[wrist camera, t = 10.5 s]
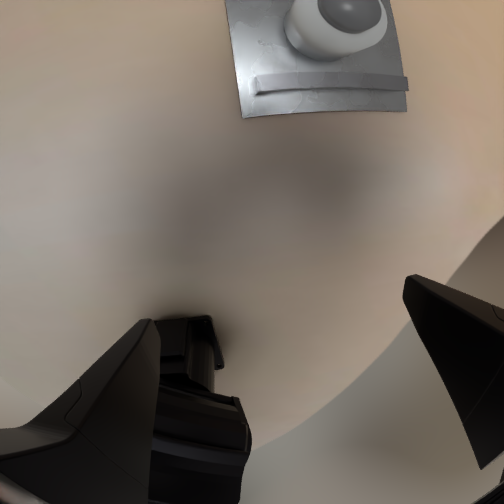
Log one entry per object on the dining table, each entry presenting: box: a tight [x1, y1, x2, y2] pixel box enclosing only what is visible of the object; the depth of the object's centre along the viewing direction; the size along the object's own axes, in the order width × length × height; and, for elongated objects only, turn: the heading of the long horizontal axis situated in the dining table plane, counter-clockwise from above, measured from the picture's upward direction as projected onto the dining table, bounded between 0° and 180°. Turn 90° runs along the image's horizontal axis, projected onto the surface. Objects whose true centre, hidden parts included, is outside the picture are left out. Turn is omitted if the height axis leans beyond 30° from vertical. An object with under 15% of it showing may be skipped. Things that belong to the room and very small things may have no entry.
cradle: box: [225, 0, 409, 118], centre depth 14 cm, size 12×12×2 cm
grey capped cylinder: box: [284, 0, 387, 61], centre depth 12 cm, size 5×5×6 cm
